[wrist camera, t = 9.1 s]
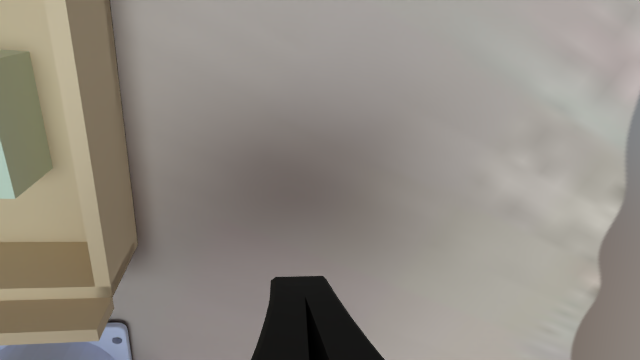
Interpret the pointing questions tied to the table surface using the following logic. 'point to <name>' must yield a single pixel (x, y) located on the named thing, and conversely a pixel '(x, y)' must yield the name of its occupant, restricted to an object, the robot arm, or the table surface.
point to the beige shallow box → (67, 179)
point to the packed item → (20, 126)
